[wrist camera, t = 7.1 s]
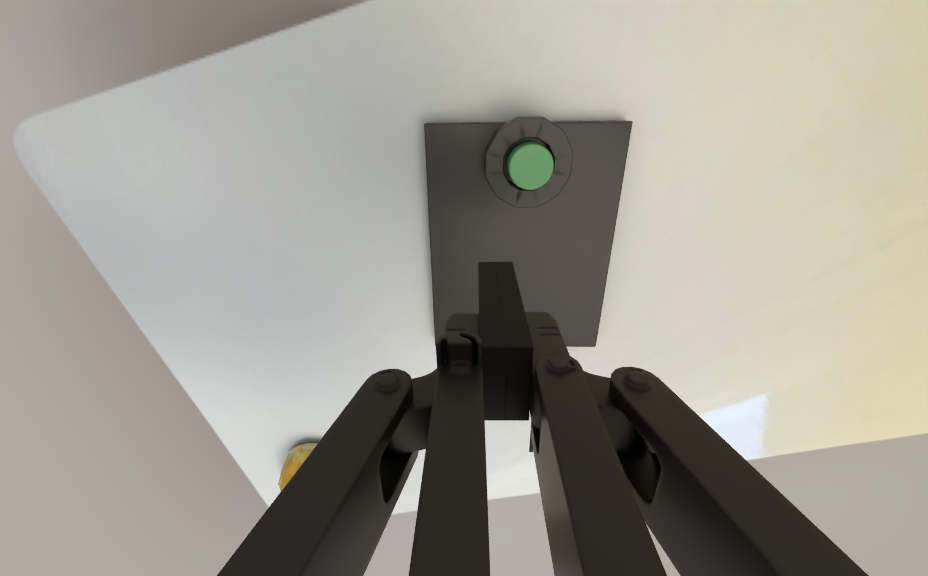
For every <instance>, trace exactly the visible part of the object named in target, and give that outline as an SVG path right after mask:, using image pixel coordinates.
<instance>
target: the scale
mask: <svg viewBox="0 0 928 576" xmlns="http://www.w3.org/2000/svg"><path fill="white" fill-rule="evenodd" d="M631 127H632V121H563V122H550V121H549V120H547V119H546V118H543V117H516V118H514V119H512V120H511V121H509V122H464V123H425V124H424V129H425V149H426V169H427V188H428V208H429V228H430V248H431V268H432V288H433V307H434V327H435V345H436V342H437V340H438V338H440V337H441V336H442V335H444V334H445V327H446V321H447V320H448V318H449V317H450V316H451V315H452V314H478V262H513V266H514V270H515V274H516V278H517V282H518V286H519V290H520V294H521V298H522V302H523V306H524V310H525V312H548V313H549V314H550V315H551V316H552V317H554V318H555V319H556V322H557V324H558V327H559V330H560V332H561V335H562V337H563V340H564V343H565V345H566V346H575V347H595V346H596V340H597V334H598V328H599V322H600V316H601V310H602V304H603V298H604V292H605V286H606V279H607V273H608V267H609V261H610V255H611V249H612V243H613V237H614V231H615V225H616V219H617V213H618V206H619V200H620V194H621V188H622V182H623V176H624V170H625V164H626V158H627V152H628V146H629V140H630V133H631ZM524 142H535V143H538V144H540V145H542V146H543V147H545V148H546V149H547V150H548V151H549V152H550V153H551V155H552V158H553V162H554V169H553V173H552V176H551V177H550V179H549V181H548V182H547V183H546V184H545V185H543V186H542V187H540V188H538V189H535V190H525V189H522V188H520V187H518V186H517V185H516V184H515V183H514V182H513V181H512V179H511V177H510V175H509V173H508V169H507V161H508V157H509V155H510V153H511V152H512V150H513V149H514V148H515V147H516V146H518V145H519V144H521V143H524Z"/></svg>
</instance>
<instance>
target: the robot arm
mask: <svg viewBox="0 0 928 576" xmlns="http://www.w3.org/2000/svg"><path fill="white" fill-rule="evenodd" d="M436 355H437V369H436V370H434V371H433V372H432V373H430V374H428V375H425V376H422V377H418V378H414V379H411V377H410V375H409V374H408V373H406V372H405V371H402V370H399V369H387V370H382V371H379V372H377V373H375V374H373V375H371V376H370V377H369V378H368V379H367V380H366V381H365V383H364V384H363V385H362V386H361V388H360V389H359V390H358V392H357V393H356V394H355V396H354V397H353V398H352V400H351V401H350V402H349V404H348V405H347V406H346V407H345V409H344V410H343V411H342V413H341V414H340V415H339V417H338V418H337V419H336V421H335V422H334V423H333V424H332V426H331V427H330V428H329V430H328V431H327V432H326V434H325V435H324V436H323V438H322V439H321V440H320V441H319V443H318V444H317V445H316V447H315V448H314V449H313V451H312V452H311V453H310V455H309V456H308V457H307V458H306V460H305V461H304V462H303V464H302V465H301V466H300V468H299V469H298V470H297V472H296V473H295V474H294V475H293V477H292V478H291V479H290V481H289V482H288V483H287V485H286V486H285V487H284V489H283V490H282V491H281V493H280V494H279V495H278V496H277V498H276V499H275V500H274V502H273V503H272V504H271V506H270V507H269V508H268V510H267V511H266V512H265V514H264V515H263V516H262V517H261V519H260V520H259V521H258V523H257V524H256V525H255V527H254V528H253V529H252V530H251V532H250V533H249V534H248V536H247V537H246V538H245V540H244V541H243V542H242V544H241V545H240V546H239V548H238V549H237V550H236V552H235V553H234V554H233V555H232V557H231V558H230V559H229V561H228V562H227V563H226V565H225V566H224V567H223V569H222V570H221V571H220V572H219V574H218V575H217V576H363V575H364V573H365V571H366V569H367V566H368V564H369V562H370V560H371V557H372V555H373V553H374V551H375V549H376V546H377V544H378V542H379V540H380V538H381V535H382V533H383V531H384V529H385V526H386V524H387V522H388V520H389V518H390V516H391V513H392V511H393V509H394V507H395V505H396V502H397V500H398V498H399V496H400V494H401V491H402V489H403V487H404V485H405V483H406V480H407V478H408V476H409V474H410V472H411V469H412V467H413V465H414V463H415V460H416V458H417V456H418V451H419V450H422V449H426V453H425V460H424V468H423V475H422V482H421V490H420V497H419V504H418V512H417V519H416V526H415V533H414V541H413V548H412V556H411V563H410V570H409V576H490V560H489V535H488V534H489V533H488V506H487V478H486V451H485V424H484V420H529V409H530V415H531V434H530V448H529V452H533V451H534V457H535V463H536V468H537V474H538V480H539V486H540V492H541V498H542V504H543V510H544V515H545V522H546V527H547V533H548V539H549V545H550V551H551V557H552V562H553V568H554V575H555V576H667V575H666V572H665V570H664V567H663V565H662V562H661V560H660V558H659V555H658V553H657V550H656V548H655V545H654V543H653V540H652V538H651V535H650V533H649V531H648V528H647V526H646V524H647V525H648V527H649V528H650V529H651V531H652V533H653V534H654V536H655V537H656V539H657V540H658V542H659V544H660V545H661V546H662V548H663V550H664V551H665V553H666V554H667V556H668V557H669V559H670V560H671V562H672V563H673V565H674V566H675V568H676V569H677V571H678V572H679V574H680V575H681V576H868V575H867V574H866V573H865V572H864V571H863V570H862V569H861V568H860V567H858V565H857V564H855V563H854V562H853V561H852V560H851V559H850V558H849V557H848V556H847V555H846V554H845V553H844V552H843V551H842V550H841V549H839V547H837V546H836V545H835V544H834V543H833V542H832V541H831V540H830V539H829V538H828V537H827V536H826V535H825V534H824V533H822V532H821V531H820V530H819V529H818V528H817V527H816V526H815V525H814V524H813V523H812V522H811V521H810V520H809V519H808V518H807V517H805V515H803V514H802V513H801V512H800V511H799V510H798V509H797V508H796V507H795V506H794V505H793V504H792V503H791V502H790V501H789V500H787V499H786V498H785V497H784V496H783V495H782V494H781V493H780V492H779V491H778V490H777V489H776V488H775V487H774V486H773V485H772V484H770V483H769V482H768V481H767V480H766V479H765V478H764V477H763V476H762V475H760V473H759V472H758V471H756V469H755V468H753V467H752V466H751V465H750V464H749V463H748V462H747V461H746V460H745V459H744V458H743V457H742V456H741V455H740V454H739V453H738V452H736V451H735V450H734V449H733V448H732V447H731V446H730V445H729V444H728V443H727V442H726V441H725V440H724V439H723V438H722V437H720V436H719V435H718V434H717V433H716V432H715V431H714V430H713V429H712V428H711V427H710V426H709V425H708V424H707V423H706V422H705V421H703V420H702V419H701V418H700V417H699V416H698V415H697V414H696V413H695V412H694V411H693V410H692V409H691V408H690V407H689V406H688V405H686V404H685V403H684V402H683V401H682V400H681V399H680V398H679V397H678V396H677V395H676V394H675V393H674V392H673V391H672V390H671V389H669V388H668V387H667V386H666V385H665V384H664V383H663V382H662V381H661V380H660V379H659V378H658V377H656V376H655V375H653V374H652V373H650V372H648V371H646V370H643V369H640V368H635V367H621V368H619V369H616V370H615V371H614V372H613V373H612V374H611V378H607V377H602V376H597V375H593V374H590V373H587V372H585V371H583V369H582V367H581V365H580V364H579V363H578V361H577V360H575V359H574V358H572V357H570V356H569V353H568V350H567V348H566V345H565V343H564V340H563V337H562V335H561V332H560V330H559V327H558V324H557V322H556V319H555V318H554V317H552V316H551V315H550V314H549V313H548V312H525V310H524V306H523V302H522V298H521V294H520V290H519V286H518V282H517V278H516V274H515V270H514V266H513V262H478V314H452V315H451V316H450V317H449V318H448V320H447V321H446V327H445V334H444V335H442V336H441V337H440V338H438V340H437V342H436ZM645 522H646V523H645Z"/></svg>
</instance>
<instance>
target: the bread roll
mask: <svg viewBox="0 0 928 576" xmlns="http://www.w3.org/2000/svg"><path fill="white" fill-rule="evenodd" d="M317 444H318V443H306V444H301V445H298V446H296V447H295V448H293V449H291V450H290V451H289V453H288V456H287V459H286V461H285V464H284V467H283V469H282V472H281V477H280V479H279V483H278V485H279V486H280V490H281V491H282V490H283V489H284V487H285V486H286V485H287V483H288V482H289V481H290V479H291V478H292V477H293V475H294V474H295V473H296V472H297V470H298V469H299V468H300V466H301V465H302V464H303V462H304V461H305V460H306V458H307V457H308V456H309V455H310V453H311V452H312V451H313V449H314V448H315V447H316V445H317Z"/></svg>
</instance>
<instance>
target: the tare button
mask: <svg viewBox="0 0 928 576" xmlns="http://www.w3.org/2000/svg"><path fill="white" fill-rule="evenodd" d="M507 169H508V173H509V175H510V177H511V179H512V181H513V182H514V183H515V184H516V185H517V186H518V187H520V188H522V189H525V190H535V189H538V188H540V187H542V186H543V185H545V184H546V183H547V182H548V181H549V179H550V177H551V176H552V173H553V169H554V162H553V158H552V155H551V153H550V152H549V151H548V150H547V149H546V148H545V147H543V146H542V145H540V144H538V143H535V142H524V143H521V144H519V145H518V146H516V147H515V148H514V149H513V150H512V152H511V153H510V155H509V157H508V161H507Z"/></svg>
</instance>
